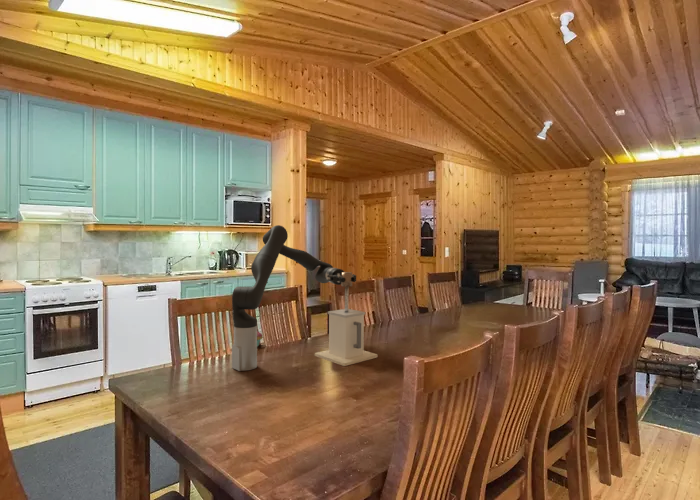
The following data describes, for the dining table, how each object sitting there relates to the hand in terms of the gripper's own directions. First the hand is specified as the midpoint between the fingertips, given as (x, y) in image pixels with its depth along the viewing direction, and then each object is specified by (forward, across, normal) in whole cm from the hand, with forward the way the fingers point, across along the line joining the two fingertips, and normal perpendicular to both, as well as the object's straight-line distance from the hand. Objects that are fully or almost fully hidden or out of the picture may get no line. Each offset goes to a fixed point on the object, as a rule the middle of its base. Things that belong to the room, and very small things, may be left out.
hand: (349, 279), depth 195 cm
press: (-3, 0, +35) cm, 35 cm away
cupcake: (-36, -35, +35) cm, 61 cm away
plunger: (-3, 0, +21) cm, 21 cm away
